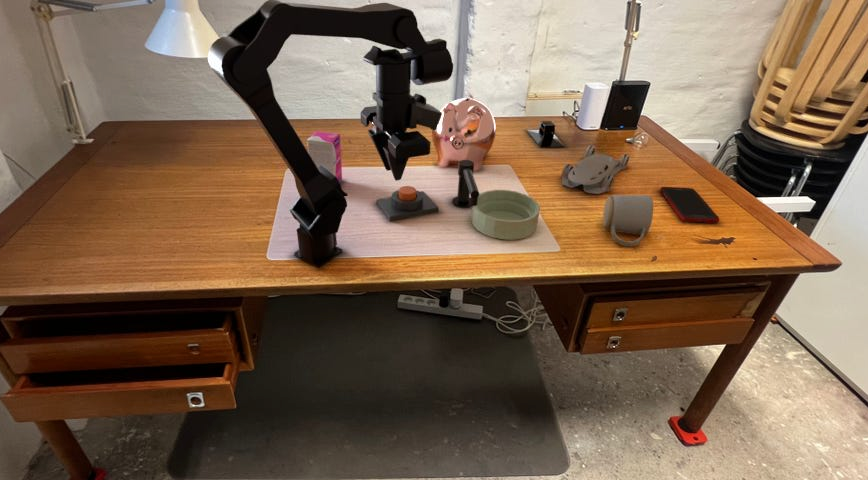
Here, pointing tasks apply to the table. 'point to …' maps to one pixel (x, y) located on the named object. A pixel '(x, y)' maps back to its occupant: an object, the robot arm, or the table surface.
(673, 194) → the cell phone
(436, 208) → the button panel
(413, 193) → the orange button
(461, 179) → the black faucet base
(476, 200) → the spout
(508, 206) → the basin
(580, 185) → the grey flat lobed piece
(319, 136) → the supplement box
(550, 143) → the build plate
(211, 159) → the table surface
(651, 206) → the ceramic mug
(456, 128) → the piggy bank
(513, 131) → the table surface
